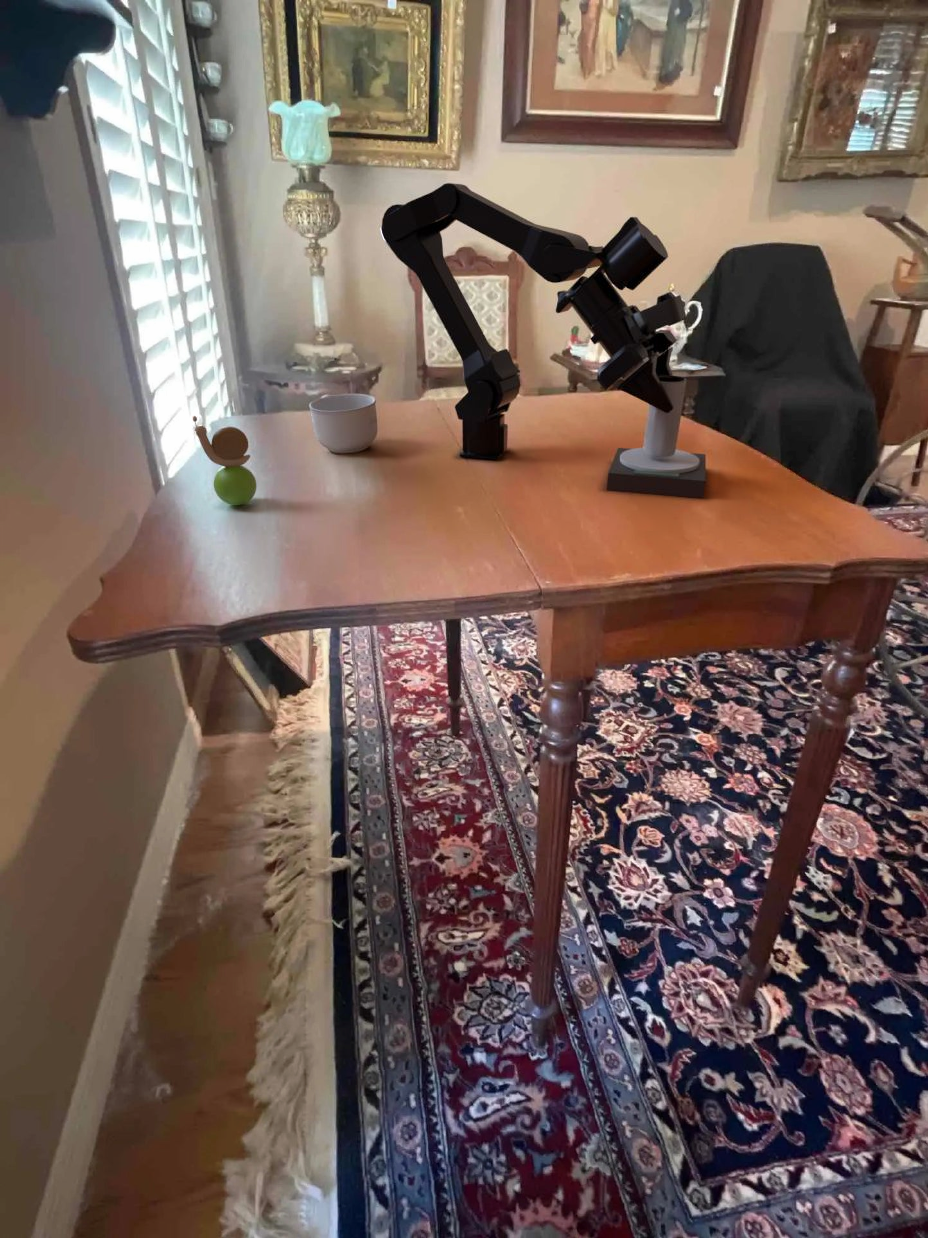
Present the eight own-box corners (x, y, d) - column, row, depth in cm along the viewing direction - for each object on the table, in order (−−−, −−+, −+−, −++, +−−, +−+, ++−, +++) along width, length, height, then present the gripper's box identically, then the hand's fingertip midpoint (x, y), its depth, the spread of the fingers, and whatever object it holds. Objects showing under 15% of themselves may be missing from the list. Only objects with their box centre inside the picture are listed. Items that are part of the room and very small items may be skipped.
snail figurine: (209, 501, 94) (191, 412, 89) (257, 495, 96) (242, 407, 90) (211, 514, 90) (192, 421, 84) (261, 508, 92) (246, 416, 86)
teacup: (386, 453, 114) (383, 403, 110) (321, 460, 110) (315, 410, 106) (365, 433, 125) (361, 387, 121) (305, 439, 122) (299, 392, 118)
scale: (606, 489, 97) (608, 468, 96) (616, 463, 108) (618, 443, 106) (702, 498, 94) (706, 476, 92) (702, 470, 105) (706, 450, 103)
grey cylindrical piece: (659, 459, 96) (670, 382, 91) (635, 451, 100) (645, 377, 95) (681, 454, 99) (694, 379, 93) (658, 446, 102) (668, 373, 97)
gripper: (632, 274, 82) (710, 380, 83) (672, 267, 96) (738, 357, 97) (565, 340, 89) (637, 436, 90) (611, 324, 103) (673, 407, 104)
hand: (675, 407), depth 95 cm, fingers closed on grey cylindrical piece, 4 cm apart
